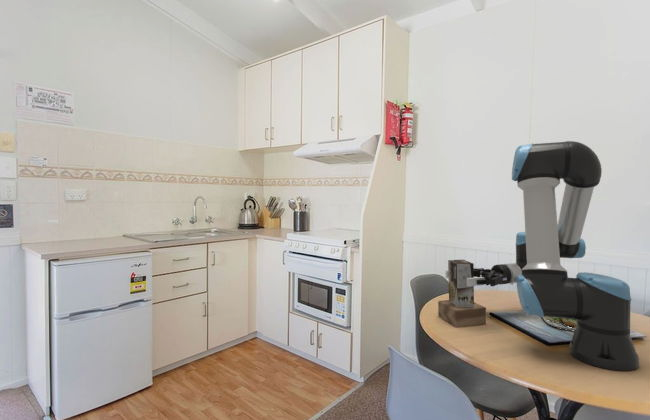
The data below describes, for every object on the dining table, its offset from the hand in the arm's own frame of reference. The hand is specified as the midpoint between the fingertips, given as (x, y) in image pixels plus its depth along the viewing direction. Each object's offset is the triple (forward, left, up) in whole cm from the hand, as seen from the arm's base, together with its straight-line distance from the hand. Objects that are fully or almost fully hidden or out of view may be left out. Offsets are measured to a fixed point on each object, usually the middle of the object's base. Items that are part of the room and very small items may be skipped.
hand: (456, 278), depth 128 cm
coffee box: (0, -2, -10) cm, 10 cm away
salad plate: (-13, -37, -17) cm, 43 cm away
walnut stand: (0, -2, -16) cm, 16 cm away
